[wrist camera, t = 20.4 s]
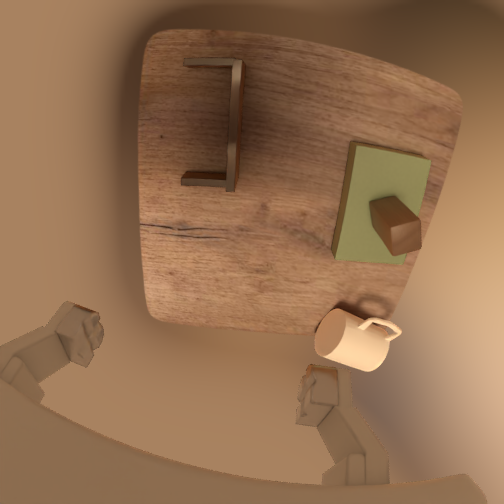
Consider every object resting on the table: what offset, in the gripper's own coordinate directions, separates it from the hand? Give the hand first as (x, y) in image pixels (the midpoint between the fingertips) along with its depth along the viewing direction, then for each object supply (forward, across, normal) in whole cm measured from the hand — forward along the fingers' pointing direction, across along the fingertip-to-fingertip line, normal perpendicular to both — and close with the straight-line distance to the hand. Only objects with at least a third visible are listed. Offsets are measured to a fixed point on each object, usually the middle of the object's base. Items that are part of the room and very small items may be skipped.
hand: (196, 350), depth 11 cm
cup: (+27, -15, +24) cm, 39 cm away
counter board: (+33, -16, +5) cm, 37 cm away
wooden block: (+30, -16, +5) cm, 35 cm away
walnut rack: (+31, +9, -2) cm, 32 cm away
